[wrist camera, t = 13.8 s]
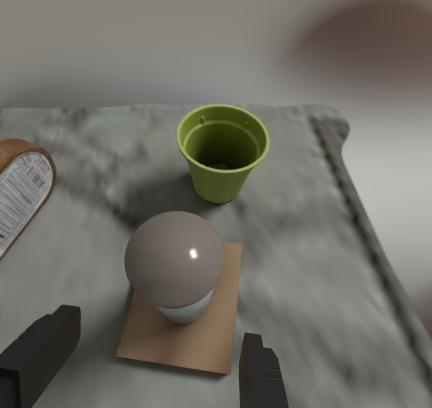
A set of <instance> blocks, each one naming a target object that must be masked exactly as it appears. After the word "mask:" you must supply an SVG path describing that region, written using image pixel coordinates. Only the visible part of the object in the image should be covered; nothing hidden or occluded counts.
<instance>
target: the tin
mask: <svg viewBox="0 0 432 408" xmlns="http://www.w3.org/2000/svg"><path fill="white" fill-rule="evenodd" d="M55 181H56V167H55V164H54V162H53V159H52V157H51V156H50V154H49V153H48V152H47V151H46V150H45V149H44V148H42V147H40V146H37V145H35V144H32V143H29V142H27V141H25V140H23V139H20V138H4V139H0V259H1V258H2V257H3V256H4V255H5V254H6V252H7V251H8V250H9V249H10V247H11V246H12V245H13V243H14V242H15V241H16V240H17V238H18V237H19V236H20V234H21V233H22V232H23V231H24V229H25V228H26V227H27V226H28V224H29V223H30V222H31V220H32V219H33V218H34V217H35V215H36V214H37V213H38V211H39V210H40V209H41V208H42V206H43V205H44V204H45V202H46V201H47V200H48V198H49V197H50V195H51V193H52V191H53V188H54V185H55Z"/></svg>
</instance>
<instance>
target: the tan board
mask: <svg viewBox="0 0 432 408" xmlns="http://www.w3.org/2000/svg"><path fill="white" fill-rule="evenodd" d="M221 242H222V246H223V255H224V257H223V265H222V269H221V273H220V276H219V279H218V281H217V283H216V285H215V286H214V289H213V293H212V298H211V302H210V305H209V307H208V310H207V311H206V313H205V314H204V315H203V316H202V317H201V318H200V319H198V320H197V321H195V322H192V323H189V324H178V323H174V322H172V321H170V320H169V319H167V318H166V317H165V316H164V315H163V314H162V313H161V312H160V310H159V309H158V308H157V307H156V306H155V305H153V304H151V303H149V302H148V301H146V300H145V299H144V298H142V297H141V296H140V295H139V294H138V293H137V292H136V290H135V291H134V295H133V298H132V302H131V305H130V309H129V312H128V315H127V319H126V322H125V326H124V329H123V333H122V336H121V340H120V343H119V347H118V350H117V354H116V356H117V357H123V358H129V359H136V360H142V361H148V362H154V363H161V364H167V365H173V366H180V367H186V368H192V369H198V370H205V371H211V372H217V373H223V374H230V375H231V364H232V353H233V342H234V331H235V319H236V308H237V297H238V286H239V275H240V264H241V253H242V244H238V243H231V242H224V241H221Z"/></svg>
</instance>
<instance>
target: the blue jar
mask: <svg viewBox="0 0 432 408" xmlns="http://www.w3.org/2000/svg"><path fill="white" fill-rule="evenodd" d="M223 257H224V255H223V246H222V242H221V240H220V237H219V235H218V233H217V232H216V230H215V229H214V228H213V227H212V225H211V224H210V223H208V222H207V221H206V220H205V219H203V218H202V217H200V216H198V215H195V214H192V213H189V212H184V211H170V212H165V213H161V214H158V215H156V216H154V217H152V218H150V219H148V220H147V221H145V222H144V223H143V224H142V225H140V226H139V228H138V229H137V230H136V231H135V232H134V234H133V235H132V237H131V238H130V240H129V242H128V245H127V248H126V252H125V259H124V260H125V271H126V274H127V278H128V280H129V282H130V284H131V285H132V287H133V288H134V289H135V290H136V292H137V293H138V294H139V295H140V296H141V297H142V298H144V299H145V300H146V301H148V302H149V303H151V304H153V305H155V306H156V307H157V308H158V309H159V310H160V312H161V313H162V314H163V315H164V316H165V317H166V318H167V319H169V320H170V321H172V322H174V323H178V324H189V323H192V322H195V321H197V320H198V319H200V318H201V317H202V316H203V315H204V314H205V313H206V311H207V310H208V307H209V305H210V302H211V298H212V293H213V289H214V286H215V285H216V283H217V281H218V279H219V276H220V273H221V269H222V265H223Z"/></svg>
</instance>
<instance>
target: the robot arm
mask: <svg viewBox="0 0 432 408" xmlns="http://www.w3.org/2000/svg"><path fill="white" fill-rule="evenodd" d="M80 320H81V311H80V307H77V306H70V305H61V306H60V307H59V308H58V309H57V310H56V311H55V312H54V313H53V314H52V315H50V314H47V315H45V316H43V317H42V318H40V319H38V320H36V321H35V322H34V323H33V324H32V325H31V326H30V327H28V328H27V329H26V331H25V332H23V333H22V334H21V335H20V336H19V337H18V339H16V340H15V341H14V342H13V343H12V344H10V345H9V346H8V347H7V348H6V349H5V350H4V351H3V352H2V353H1V354H0V408H32V406H33V405H34V403H35V402H36V401H37V399H38V398H39V397H40V395H41V394H42V393H43V391H44V390H45V388H46V387H47V386H48V384H49V383H50V382H51V380H52V379H53V378H54V376H55V375H56V373H57V372H58V371H59V369H60V368H61V367H62V365H63V364H64V363H65V361H66V360H67V358H68V357H69V356H70V354H71V353H72V352H73V350H74V349H75V347H76V346H77V344H78V341H79V338H80ZM239 391H240V408H289V407H288V402H287V397H286V393H285V388H284V384H283V381H282V375H281V371H280V366H279V361H278V358H277V356H276V355H275V353H274V352H273V350H272V349H271V348H264V347H263V343H262V337H261V335H259V334H252V333H245V335H244V340H243V345H242V350H241V355H240V361H239Z"/></svg>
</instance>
